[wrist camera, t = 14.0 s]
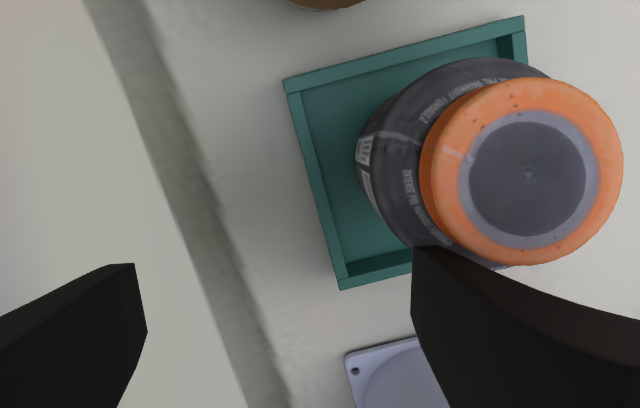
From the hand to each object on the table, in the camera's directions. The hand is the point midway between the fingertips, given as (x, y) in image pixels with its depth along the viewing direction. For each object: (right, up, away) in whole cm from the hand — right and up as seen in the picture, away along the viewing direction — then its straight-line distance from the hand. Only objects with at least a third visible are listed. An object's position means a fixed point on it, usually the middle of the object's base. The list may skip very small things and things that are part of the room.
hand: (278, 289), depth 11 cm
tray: (+6, +4, +10) cm, 12 cm away
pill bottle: (+6, +4, +9) cm, 12 cm away
